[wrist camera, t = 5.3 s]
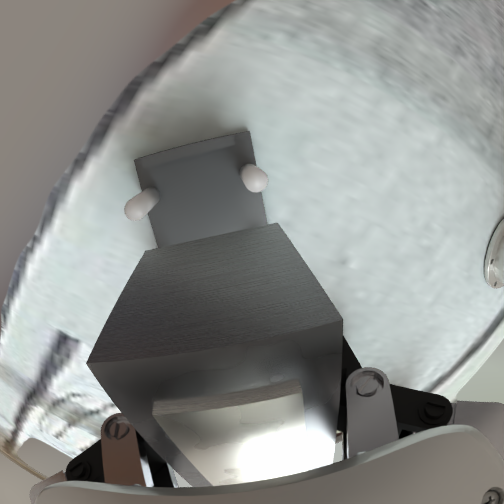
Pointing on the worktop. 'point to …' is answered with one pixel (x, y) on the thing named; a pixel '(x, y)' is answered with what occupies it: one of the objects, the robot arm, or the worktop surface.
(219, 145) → the grey pegged block
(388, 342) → the worktop surface
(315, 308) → the block
